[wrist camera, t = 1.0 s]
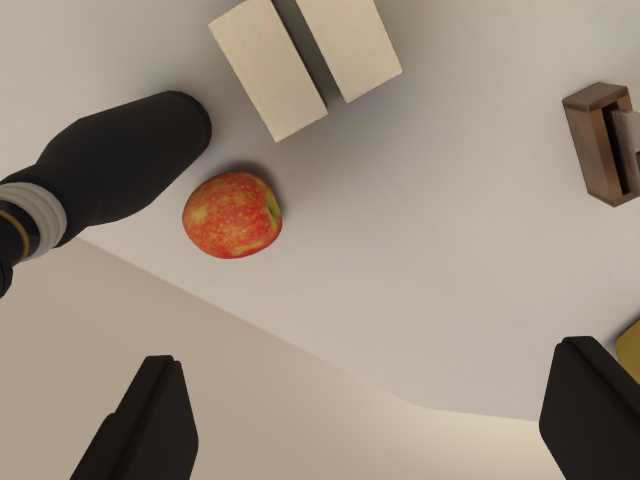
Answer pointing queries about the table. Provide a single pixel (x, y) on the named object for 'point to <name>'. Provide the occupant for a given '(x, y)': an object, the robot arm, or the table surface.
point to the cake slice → (352, 43)
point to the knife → (624, 145)
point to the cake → (269, 66)
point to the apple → (232, 215)
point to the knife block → (597, 139)
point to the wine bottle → (98, 174)
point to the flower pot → (630, 351)
